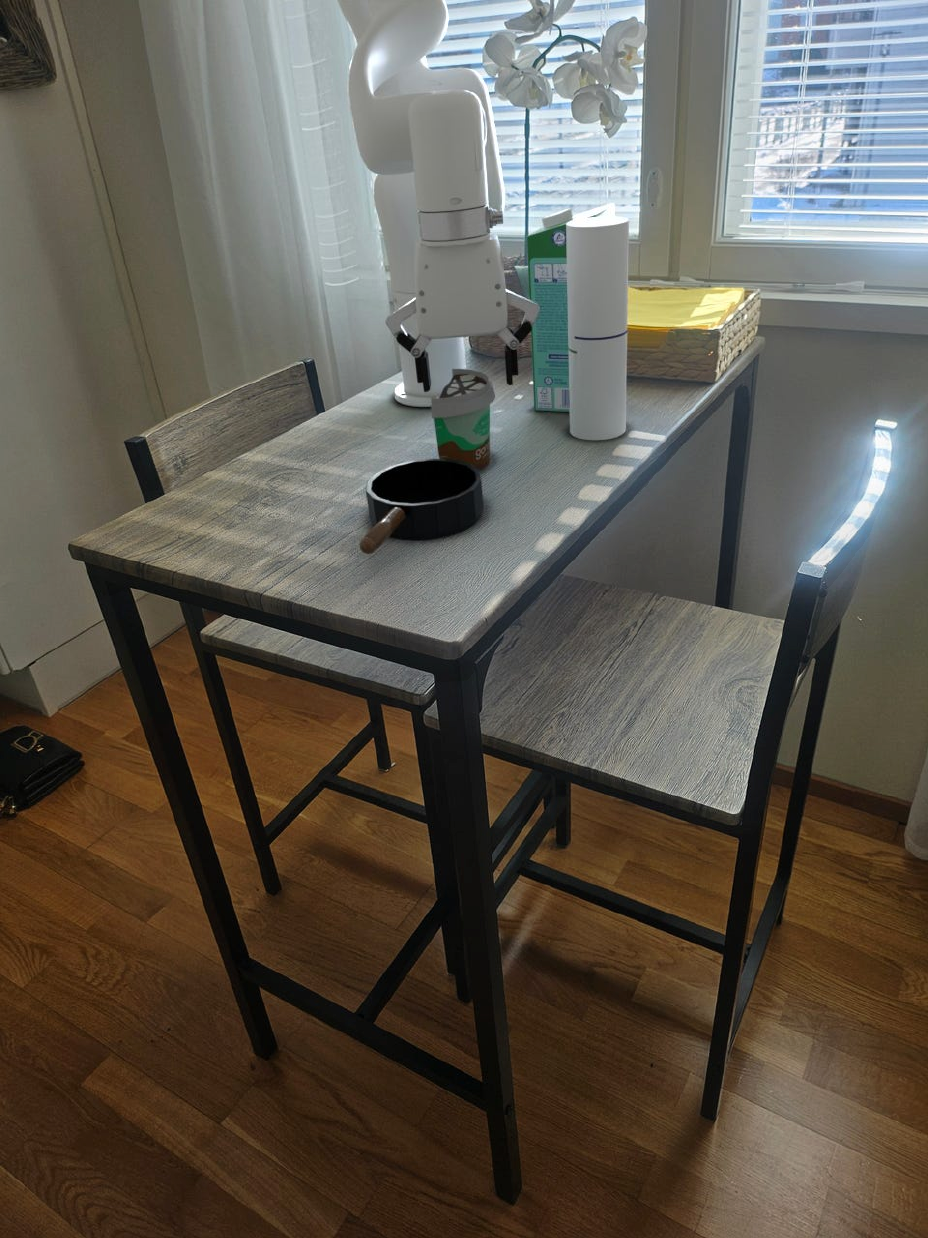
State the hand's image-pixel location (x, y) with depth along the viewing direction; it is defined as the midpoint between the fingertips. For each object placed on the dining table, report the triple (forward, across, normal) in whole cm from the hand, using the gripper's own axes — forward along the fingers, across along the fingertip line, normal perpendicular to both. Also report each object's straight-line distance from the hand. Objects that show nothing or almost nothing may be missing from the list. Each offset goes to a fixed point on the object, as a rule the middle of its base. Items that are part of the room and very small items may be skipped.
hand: (468, 385), depth 103 cm
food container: (+10, 0, -1) cm, 10 cm away
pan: (+10, +7, +17) cm, 21 cm away
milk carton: (+10, -14, -21) cm, 27 cm away
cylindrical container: (+10, -16, -9) cm, 21 cm away
